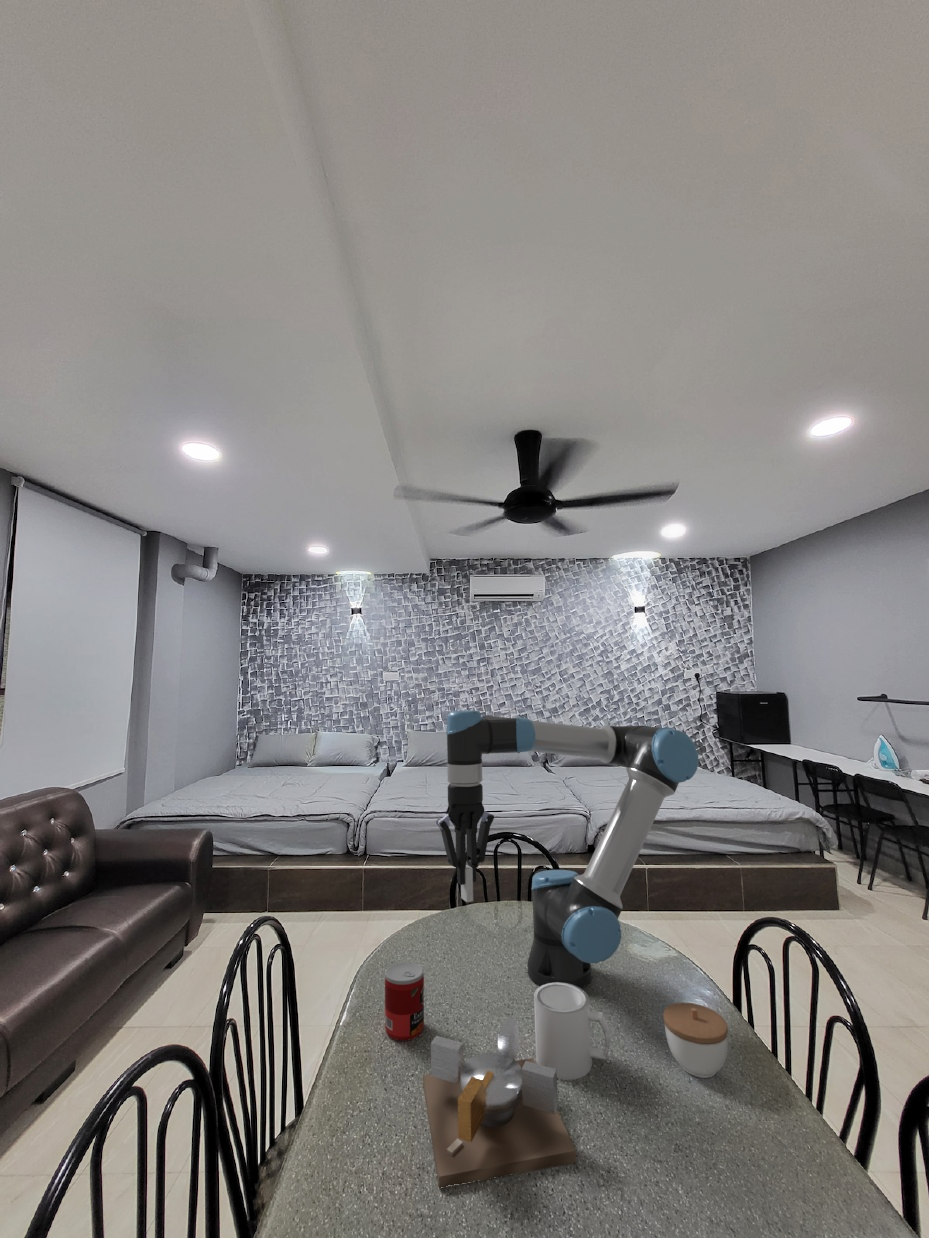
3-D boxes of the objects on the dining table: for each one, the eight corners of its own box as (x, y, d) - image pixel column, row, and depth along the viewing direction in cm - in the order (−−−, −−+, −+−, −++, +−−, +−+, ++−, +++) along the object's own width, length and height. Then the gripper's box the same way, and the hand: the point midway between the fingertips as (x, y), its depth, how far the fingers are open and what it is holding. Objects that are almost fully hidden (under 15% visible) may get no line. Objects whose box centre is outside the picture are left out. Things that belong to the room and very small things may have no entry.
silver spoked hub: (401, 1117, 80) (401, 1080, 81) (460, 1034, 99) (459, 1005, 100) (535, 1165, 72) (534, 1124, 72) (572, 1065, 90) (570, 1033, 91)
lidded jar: (726, 1052, 99) (722, 998, 100) (735, 1093, 89) (730, 1032, 90) (665, 1041, 103) (662, 988, 104) (666, 1079, 93) (663, 1021, 94)
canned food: (418, 1043, 103) (417, 982, 105) (379, 1039, 105) (379, 978, 106) (428, 1019, 111) (428, 963, 112) (392, 1016, 112) (392, 959, 114)
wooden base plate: (533, 1066, 96) (532, 1042, 97) (576, 1161, 77) (575, 1131, 77) (423, 1084, 93) (422, 1059, 93) (439, 1188, 73) (438, 1156, 74)
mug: (612, 1050, 100) (609, 989, 102) (609, 1088, 91) (606, 1020, 92) (540, 1037, 105) (538, 978, 106) (531, 1073, 95) (529, 1008, 96)
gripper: (483, 778, 121) (486, 888, 118) (430, 783, 115) (431, 899, 112) (500, 782, 114) (503, 899, 111) (444, 788, 108) (445, 912, 105)
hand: (467, 899), depth 111 cm, fingers closed
